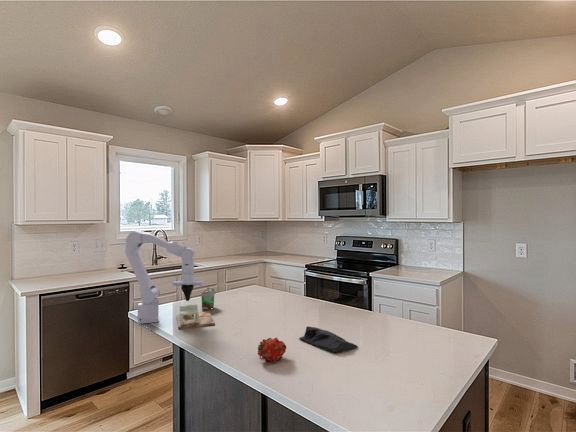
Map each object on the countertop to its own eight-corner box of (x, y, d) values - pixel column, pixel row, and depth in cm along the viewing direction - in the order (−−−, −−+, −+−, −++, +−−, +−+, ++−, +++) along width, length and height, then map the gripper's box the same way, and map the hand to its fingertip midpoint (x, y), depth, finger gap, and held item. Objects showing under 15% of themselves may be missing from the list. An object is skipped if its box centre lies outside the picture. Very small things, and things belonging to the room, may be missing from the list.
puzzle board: (178, 329, 147) (178, 326, 147) (176, 316, 166) (176, 314, 166) (214, 325, 153) (214, 322, 153) (208, 313, 171) (208, 311, 172)
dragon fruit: (254, 368, 112) (283, 364, 119) (266, 360, 107) (295, 357, 114) (250, 343, 117) (278, 341, 124) (261, 334, 112) (290, 332, 119)
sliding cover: (180, 325, 149) (180, 309, 149) (179, 320, 155) (179, 306, 155) (198, 323, 152) (198, 308, 152) (197, 318, 158) (197, 304, 158)
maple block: (183, 320, 160) (183, 310, 160) (183, 318, 164) (183, 307, 164) (192, 319, 162) (192, 309, 162) (191, 317, 165) (191, 307, 165)
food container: (212, 311, 175) (212, 292, 175) (201, 311, 175) (201, 292, 175) (218, 305, 188) (218, 287, 188) (207, 305, 188) (207, 287, 188)
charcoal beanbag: (331, 358, 118) (331, 345, 118) (296, 339, 136) (296, 327, 136) (361, 349, 126) (361, 336, 126) (324, 332, 145) (324, 321, 145)
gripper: (204, 271, 166) (204, 298, 166) (175, 271, 165) (175, 298, 165) (201, 273, 159) (201, 301, 159) (170, 273, 158) (170, 302, 158)
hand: (187, 300), depth 161 cm, fingers closed
